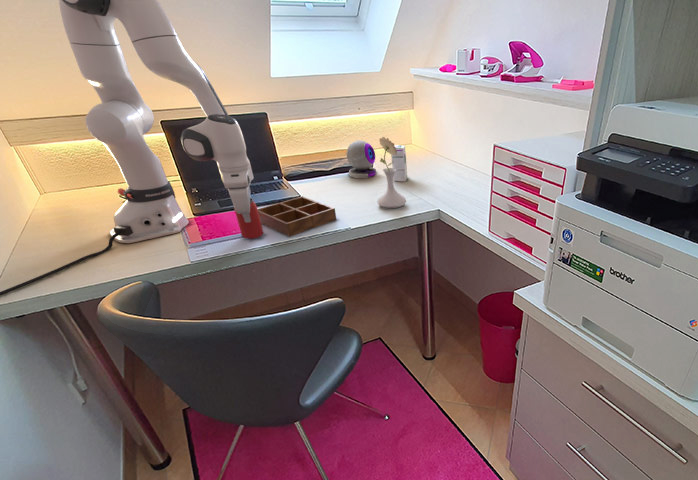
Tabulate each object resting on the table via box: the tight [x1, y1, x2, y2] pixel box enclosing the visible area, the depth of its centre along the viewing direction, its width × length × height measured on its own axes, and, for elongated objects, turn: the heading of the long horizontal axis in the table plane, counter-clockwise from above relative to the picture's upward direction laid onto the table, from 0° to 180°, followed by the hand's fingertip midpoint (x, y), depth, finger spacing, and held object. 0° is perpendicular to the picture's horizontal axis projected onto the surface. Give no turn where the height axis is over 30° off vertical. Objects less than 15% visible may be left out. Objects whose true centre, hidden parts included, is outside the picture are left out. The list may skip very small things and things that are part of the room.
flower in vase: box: [377, 136, 407, 209], centre depth 161 cm, size 13×11×25 cm
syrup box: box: [390, 144, 408, 182], centre depth 191 cm, size 6×6×14 cm
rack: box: [257, 195, 337, 238], centre depth 151 cm, size 19×19×4 cm
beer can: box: [233, 197, 264, 240], centre depth 137 cm, size 7×7×12 cm
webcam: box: [346, 139, 377, 179], centre depth 196 cm, size 13×13×15 cm
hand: (248, 217), depth 136 cm, fingers closed on beer can, 6 cm apart
